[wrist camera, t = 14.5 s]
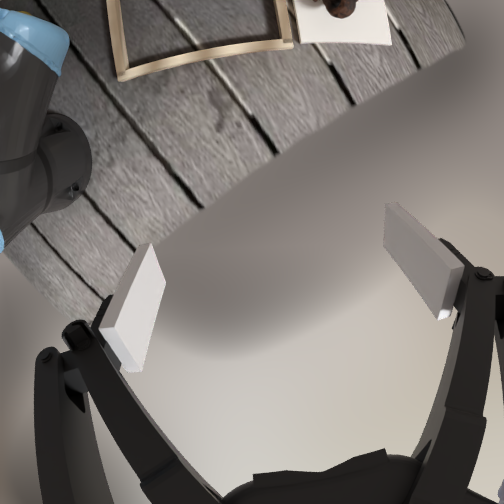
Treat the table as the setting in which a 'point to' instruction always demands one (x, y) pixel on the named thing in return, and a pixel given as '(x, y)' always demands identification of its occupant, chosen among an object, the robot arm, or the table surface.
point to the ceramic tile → (342, 23)
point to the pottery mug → (340, 7)
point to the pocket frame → (217, 52)
